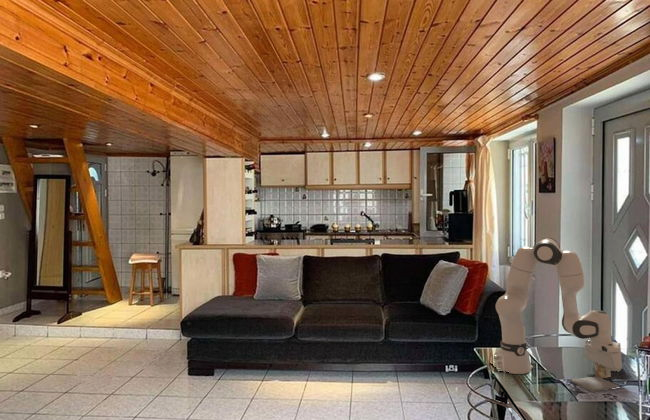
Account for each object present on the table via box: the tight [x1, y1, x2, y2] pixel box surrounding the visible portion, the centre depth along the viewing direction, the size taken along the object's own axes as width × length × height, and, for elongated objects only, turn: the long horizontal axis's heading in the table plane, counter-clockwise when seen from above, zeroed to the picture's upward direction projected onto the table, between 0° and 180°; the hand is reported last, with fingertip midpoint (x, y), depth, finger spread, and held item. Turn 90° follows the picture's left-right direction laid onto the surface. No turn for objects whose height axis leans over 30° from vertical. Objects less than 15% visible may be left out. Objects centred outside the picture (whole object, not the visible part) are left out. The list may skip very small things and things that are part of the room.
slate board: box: [570, 376, 621, 393], centre depth 219 cm, size 14×14×1 cm
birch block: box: [594, 364, 612, 379], centre depth 228 cm, size 4×4×5 cm
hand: (602, 373), depth 228 cm, fingers closed on birch block, 4 cm apart
